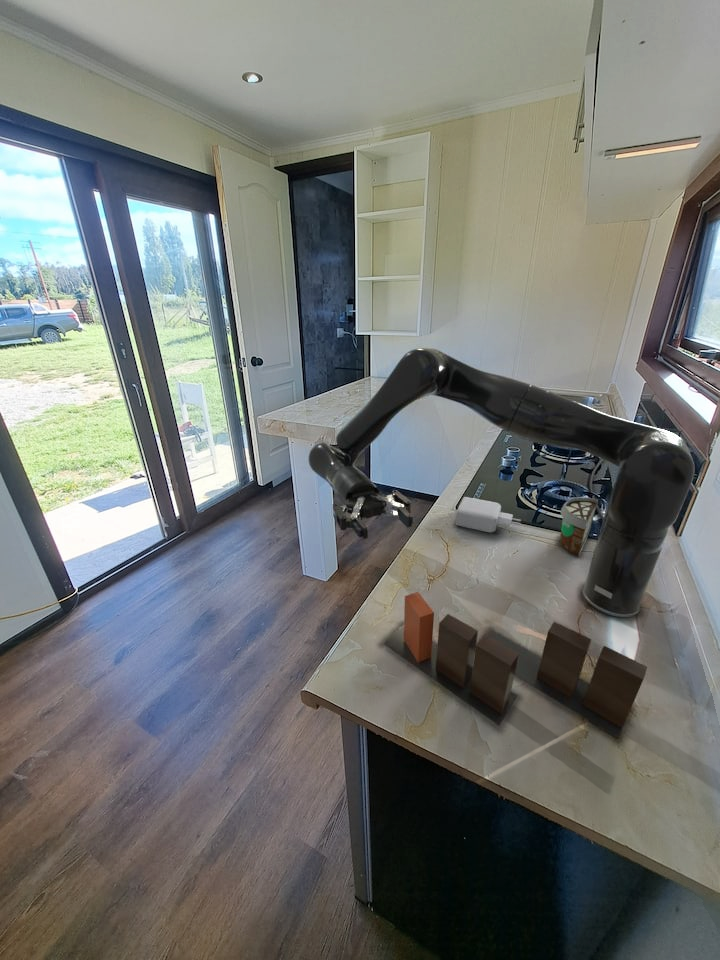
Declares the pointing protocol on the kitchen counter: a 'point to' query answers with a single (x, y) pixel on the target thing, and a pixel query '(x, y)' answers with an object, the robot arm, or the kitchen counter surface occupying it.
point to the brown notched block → (561, 671)
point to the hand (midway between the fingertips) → (388, 528)
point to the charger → (482, 515)
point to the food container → (576, 523)
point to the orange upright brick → (418, 626)
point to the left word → (467, 666)
